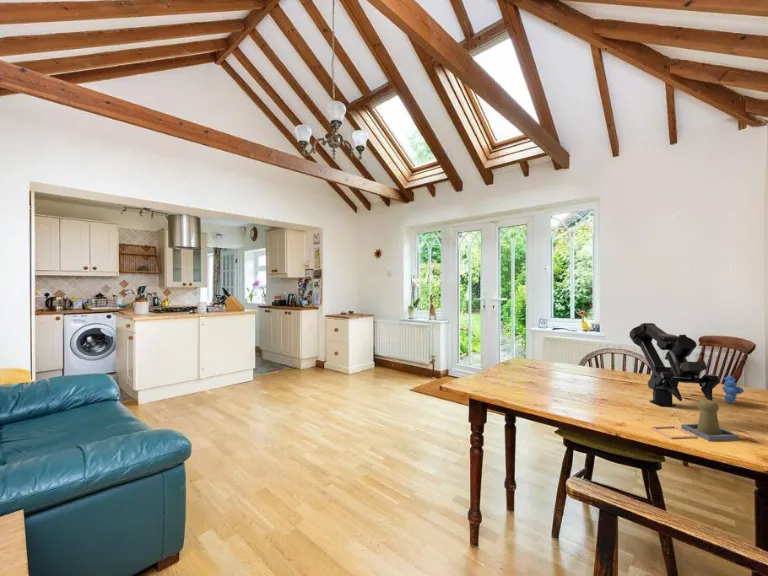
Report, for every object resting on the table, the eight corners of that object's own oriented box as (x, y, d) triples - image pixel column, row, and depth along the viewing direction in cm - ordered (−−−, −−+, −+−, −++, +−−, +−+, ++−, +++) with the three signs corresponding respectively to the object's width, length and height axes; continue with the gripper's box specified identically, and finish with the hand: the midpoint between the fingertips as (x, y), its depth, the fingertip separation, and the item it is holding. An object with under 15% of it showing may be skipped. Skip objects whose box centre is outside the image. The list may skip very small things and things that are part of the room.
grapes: (746, 409, 146) (746, 379, 146) (723, 406, 150) (723, 377, 150) (742, 401, 155) (742, 373, 155) (720, 398, 159) (720, 371, 159)
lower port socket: (681, 428, 128) (681, 424, 128) (709, 427, 128) (709, 423, 128) (708, 441, 118) (708, 436, 118) (738, 439, 118) (738, 435, 118)
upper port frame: (649, 428, 129) (649, 426, 129) (674, 427, 129) (674, 425, 129) (671, 438, 120) (671, 437, 120) (697, 437, 120) (697, 436, 120)
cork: (703, 428, 127) (703, 396, 127) (725, 434, 121) (724, 402, 121) (692, 430, 125) (692, 399, 125) (713, 437, 119) (713, 404, 119)
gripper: (659, 351, 137) (675, 388, 127) (717, 353, 133) (739, 392, 122) (648, 366, 145) (662, 403, 134) (703, 369, 141) (722, 407, 130)
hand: (696, 401), depth 130 cm, fingers open, 9 cm apart
